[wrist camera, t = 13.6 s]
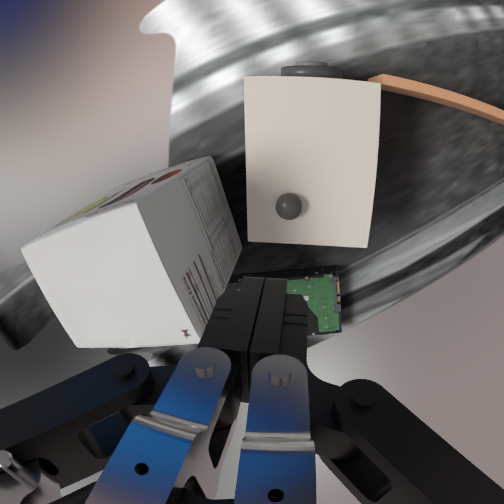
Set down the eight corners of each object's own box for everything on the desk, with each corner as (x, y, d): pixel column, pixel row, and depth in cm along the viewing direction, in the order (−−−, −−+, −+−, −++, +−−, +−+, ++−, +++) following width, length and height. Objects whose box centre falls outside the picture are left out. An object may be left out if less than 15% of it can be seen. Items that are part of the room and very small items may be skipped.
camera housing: (256, 67, 30) (241, 56, 22) (363, 72, 28) (382, 63, 21) (258, 213, 38) (246, 244, 31) (355, 218, 37) (368, 251, 29)
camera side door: (367, 87, 29) (382, 84, 23) (368, 70, 28) (383, 63, 22) (516, 130, 26) (548, 140, 20) (517, 116, 25) (549, 123, 19)
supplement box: (212, 151, 36) (139, 197, 20) (245, 248, 41) (207, 345, 25) (104, 191, 40) (15, 248, 24) (139, 270, 46) (75, 350, 30)
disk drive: (246, 328, 48) (341, 321, 45) (243, 340, 46) (342, 333, 42) (230, 273, 44) (337, 261, 40) (225, 283, 41) (338, 272, 38)
